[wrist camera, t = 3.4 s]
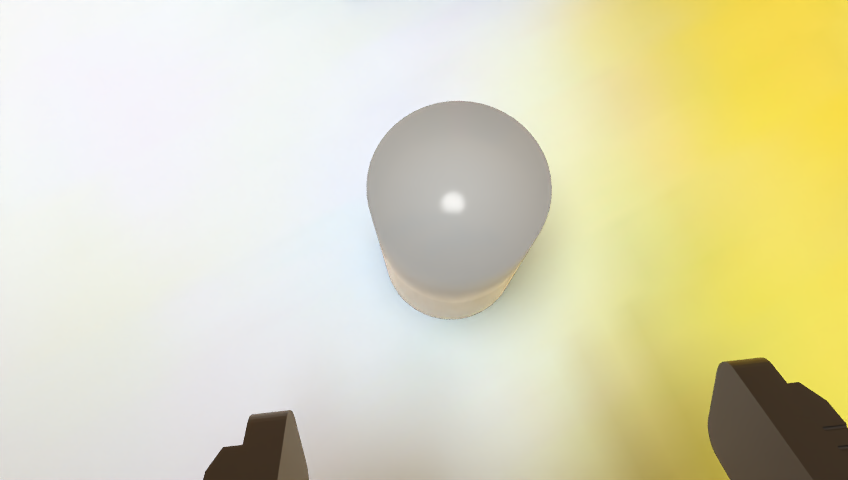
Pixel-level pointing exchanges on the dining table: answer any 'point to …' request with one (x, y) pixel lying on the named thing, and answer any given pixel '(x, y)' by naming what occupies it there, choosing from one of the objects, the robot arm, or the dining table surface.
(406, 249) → the domed grey cylinder
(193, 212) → the dining table surface
